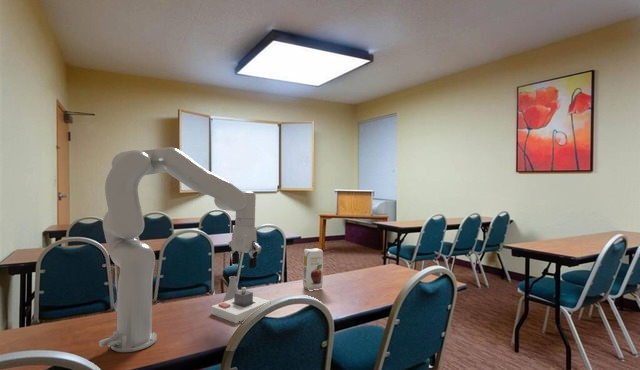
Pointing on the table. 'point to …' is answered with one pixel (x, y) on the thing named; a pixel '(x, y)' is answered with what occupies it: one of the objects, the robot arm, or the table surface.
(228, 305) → the socket plate
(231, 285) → the flask
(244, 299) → the plug
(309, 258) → the juice carton
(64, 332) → the table surface
